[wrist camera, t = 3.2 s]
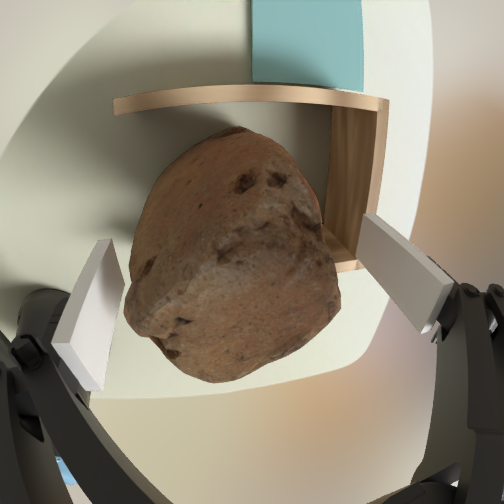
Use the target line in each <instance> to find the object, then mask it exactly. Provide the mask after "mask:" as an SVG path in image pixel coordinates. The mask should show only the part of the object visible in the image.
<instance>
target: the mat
mask: <svg viewBox="0 0 504 504" xmlns="http://www.w3.org/2000/svg"><path fill="white" fill-rule="evenodd" d="M251 32H252V82H276V83H293V84H306V85H316V86H325V87H333V88H340V89H347V90H353V91H359V92H363V82H364V49H363V22H362V7H361V0H251Z"/></svg>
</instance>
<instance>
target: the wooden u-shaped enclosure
mask: <svg viewBox="0 0 504 504" xmlns="http://www.w3.org/2000/svg"><path fill="white" fill-rule="evenodd" d="M242 101H273V102H299V103H314V104H325V105H332V122H331V141H330V157H329V170H328V182H327V193H326V203H325V213H324V222H323V224H322V225H321V228H322V232H323V236H324V239H325V243H326V244H327V245H328V246H329V248H330V250H331V252H332V255H333V259H334V263H335V267H336V272H337V273H340V272H346V271H352V270H358V269H363V268H365V267H364V266H363V265H362V263H361V262H360V261H359V260H358V259H357V258H356V257H355V255H356V250H357V245H358V240H359V235H360V229H361V224H362V218H363V214H369V213H375V214H376V211H377V206H378V200H379V194H380V187H381V181H382V174H383V166H384V158H385V149H386V139H387V128H388V115H389V100H387V99H383V98H378V97H373V96H368V95H362V94H357V93H350V92H344V91H337V90H329V89H320V88H311V87H299V86H283V85H215V86H199V87H188V88H178V89H169V90H162V91H154V92H148V93H142V94H136V95H131V96H125V97H120V98H116V99H113V108H114V116H116V115H121V114H126V113H132V112H137V111H143V110H150V109H156V108H164V107H172V106H180V105H190V104H202V103H217V102H242Z"/></svg>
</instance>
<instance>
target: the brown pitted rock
mask: <svg viewBox="0 0 504 504" xmlns="http://www.w3.org/2000/svg"><path fill="white" fill-rule="evenodd" d="M321 225H322V216H321V211H320V207H319V202H318V200H317V197H316V195H315V193H314V192H313V190H312V188H311V186H310V185H309V183H308V182H307V181H306V179H305V178H304V176H303V175H302V174H301V172H300V171H299V169H298V167H297V165H296V164H295V162H294V161H293V159H292V157H291V156H290V155H289V154H288V152H287V151H286V150H285V149H284V148H283V147H282V146H281V145H279V144H278V143H276V142H275V141H273V140H272V139H270V138H267V137H265V136H263V135H261V134H256V133H254V132H253V131H251V130H249V129H246V128H244V127H240V126H239V127H232V128H229V129H227V130H226V131H222V132H220V133H218V134H215V135H213V136H211V137H209V138H207V139H205V140H203V141H202V142H200V143H198V144H197V145H195V146H193V147H192V148H190V149H189V150H187V151H186V152H185V153H183V154H182V155H181V156H180V157H178V158H177V159H176V160H175V161H174V162H173V163H171V164H170V165H169V166H168V167H167V168H166V170H165V171H164V172H163V173H162V174H161V175H160V176H159V178H158V179H157V181H156V183H155V184H154V186H153V188H152V190H151V192H150V194H149V196H148V198H147V200H146V203H145V206H144V208H143V212H142V215H141V217H140V220H139V223H138V225H137V228H136V232H135V236H134V240H133V245H132V249H131V256H130V261H129V271H130V277H131V281H132V283H131V286H130V288H129V290H128V292H127V295H126V297H125V305H124V316H125V318H126V320H127V323H128V324H129V325H130V327H131V328H132V329H133V330H134V331H135V332H136V333H137V334H138V335H139V336H141V337H147V338H148V337H149V338H150V339H151V340H152V341H153V342H154V343H155V344H156V345H157V346H158V347H159V348H160V350H161V351H162V352H163V354H164V355H165V357H166V358H167V359H168V360H169V361H170V362H171V363H173V364H174V365H175V366H176V367H177V368H178V369H179V370H181V371H182V372H183V373H185V374H187V375H190V376H192V377H195V378H198V379H200V380H203V381H206V382H210V383H222V382H228V381H234V380H237V379H240V378H242V377H244V376H246V375H248V374H250V373H252V372H253V371H255V370H257V369H259V368H261V367H262V366H264V365H266V364H268V363H271V362H273V361H276V360H278V359H281V358H283V357H286V356H287V355H289V354H291V353H293V352H295V351H297V350H298V349H300V348H301V347H303V346H304V345H305V344H306V343H308V342H309V341H310V340H312V339H313V338H314V337H315V336H316V335H317V334H318V333H319V332H320V331H321V330H322V329H323V328H325V327H326V326H327V325H328V324H329V323H330V321H331V320H332V319H333V318H334V317H335V315H336V314H337V313H338V312H339V311H340V309H341V294H340V290H339V287H338V278H337V272H336V267H335V263H334V259H333V255H332V252H331V250H330V248H329V246H328V245H327V244H326V243H325V239H324V236H323V232H322V228H321Z"/></svg>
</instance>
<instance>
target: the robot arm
mask: <svg viewBox="0 0 504 504" xmlns="http://www.w3.org/2000/svg"><path fill="white" fill-rule="evenodd" d="M355 257H356V258H357V259H358V260H359V261H360V262H361V263H362V265H363V266H364V267H365V268H366V269H367V270H368V271H369V273H370V274H371V275H372V276H373V277H374V278H375V279H376V281H377V282H378V283H379V284H380V285H381V286H382V288H383V289H384V290H385V291H386V292H387V294H388V295H389V296H390V297H391V298H392V299H393V301H394V302H395V303H396V304H397V306H398V307H399V308H400V309H401V311H402V312H403V313H404V314H405V316H406V317H407V318H408V319H409V321H410V322H411V323H412V324H413V326H414V327H415V328H416V329H417V331H418V332H419V333H420V334H422V333H425V332H427V331H430V330H431V329H432V327H433V326H434V324H435V322H436V320H437V321H438V322H439V323H440V325H439V327H438V329H437V331H436V333H435V334H434V336H433V338H432V341H431V342H432V343H433V341H434V340H435V338H437V342H436V344H437V365H436V366H437V367H436V381H435V392H434V401H433V409H432V416H431V423H430V429H429V434H428V440H427V445H426V449H425V454H424V458H423V460H422V462H421V464H420V465H419V466H418V468H417V469H416V471H415V473H414V475H413V478H412V480H411V483H410V485H408V486H406V487H404V488H401V489H399V490H397V491H395V492H392V493H390V494H387V495H385V496H383V497H381V498H378V499H376V500H374V501H372V502H370V503H367V504H504V289H503V288H502V287H501V286H499V285H497V284H490V285H489V287H488V289H487V291H486V293H485V292H484V293H482V292H480V291H479V290H478V289H477V288H475V287H474V286H473V285H470V284H468V283H462V284H460V285H459V284H458V283H457V282H456V281H455V280H454V279H453V278H452V277H451V276H450V275H449V274H448V273H447V272H446V271H445V270H443V269H441V267H440V266H439V265H438V264H436V262H435V261H433V260H432V259H431V258H430V257H428V256H427V255H425V254H424V253H422V252H421V251H420V250H419V249H418V248H417V247H415V246H414V245H413V244H412V243H411V242H410V241H408V240H407V239H406V238H405V237H404V236H402V235H401V234H400V233H399V232H397V231H396V230H395V229H394V228H392V227H391V226H390V225H389V224H387V223H386V222H385V221H384V220H382V219H381V218H380V217H378V216H377V215H376V214H375V213H369V214H363V218H362V224H361V229H360V235H359V240H358V245H357V250H356V255H355ZM124 286H125V283H124V279H123V276H122V273H121V270H120V266H119V263H118V260H117V256H116V253H115V249H114V246H113V242H112V238H111V239H104V240H98V241H97V243H96V245H95V247H94V248H93V250H92V252H91V254H90V256H89V258H88V260H87V262H86V264H85V266H84V268H83V270H82V272H81V274H80V276H79V278H78V280H77V282H76V284H75V286H74V288H73V291H72V293H71V295H70V294H68V293H65V292H62V291H58V290H52V289H42V290H37V291H35V292H33V293H31V294H30V295H29V296H28V297H27V298H26V299H25V301H24V303H23V305H22V307H21V308H20V311H19V314H18V328H17V333H16V337H15V338H14V340H13V341H12V342H10V341H9V340H8V339H7V338H6V336H5V335H4V334H3V333H2V332H1V330H0V504H73V502H72V499H71V497H70V495H69V492H68V490H67V488H66V485H65V484H69V485H74V484H77V483H78V485H79V486H80V487H81V489H82V490H83V492H84V493H85V494H86V496H87V497H88V498H89V500H90V501H91V502H92V504H173V503H172V502H171V501H169V500H168V499H167V498H166V497H165V496H164V495H163V494H162V493H161V492H160V491H159V490H158V489H157V488H156V487H155V486H153V485H152V484H151V483H150V482H149V481H148V479H147V478H146V477H145V476H144V475H143V474H142V473H141V472H140V471H139V470H138V469H137V468H136V467H135V466H134V465H133V463H132V462H131V461H130V460H129V459H128V458H127V457H126V456H125V454H124V453H123V452H122V451H121V450H120V449H119V447H118V446H117V445H116V444H115V442H114V441H113V440H112V439H111V437H110V436H109V435H108V433H107V432H106V431H105V429H104V428H103V427H102V425H101V424H100V423H99V421H98V420H97V418H96V417H95V416H94V414H93V413H92V411H91V410H90V408H89V401H90V394H91V391H99V392H103V388H104V381H105V375H106V368H107V363H108V358H109V354H110V348H111V341H112V336H113V332H114V327H115V322H116V318H117V314H118V310H119V305H120V301H121V297H122V293H123V290H124ZM495 321H497V323H498V326H497V327H496V329H495V331H494V332H493V333H492V331H491V328H492V326H493V324H494V323H495ZM458 480H459V481H458ZM455 481H458V486H457V487H455V486H452V485H451V484H452V483H453V482H455ZM502 495H503V497H502ZM501 499H502V500H501Z"/></svg>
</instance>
